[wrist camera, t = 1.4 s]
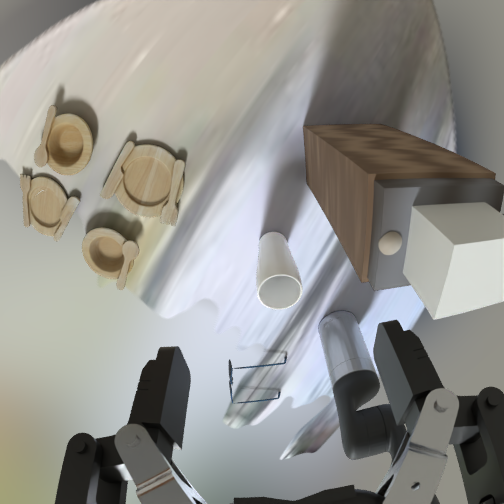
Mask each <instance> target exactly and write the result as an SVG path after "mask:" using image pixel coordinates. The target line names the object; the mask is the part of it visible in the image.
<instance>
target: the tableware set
mask: <svg viewBox="0 0 504 504" xmlns="http://www.w3.org/2000/svg"><path fill="white" fill-rule="evenodd" d="M56 112H57V107H56V106H55V105H51V106H50V107H49V110H48V113H47V118H46V122H45V127H44V131H43V137H42V142H41V144H40V146H39V147H38V148H37V149H36V151H35V154H34V160H35V163H36V165H37V166H38V167H43V166H45V165H46V163H48V165H49V166H50V167H51V168H52V169H53V170H54V171H56V172H57V173H59V174H62V175H73V174H76V173H78V172H80V171H81V170H82V169H84V167H85V166H86V165H87V164H88V162H89V160H90V158H91V155H92V151H93V137H92V133H91V130H90V128H89V126H88V124H87V123H86V122H85V121H84V120H83V119H82V118H81V117H79V116H77V115H75V114H70V113H66V114H61V115H58V116H56ZM55 116H56V117H55ZM184 168H185V161H184V160H182V159H178V160H176V158H175V157H174V156H173V155H172V154H171V153H170V152H169V151H167V150H166V149H164V148H162V147H160V146H156V145H152V144H143V145H138V146H135V143H134V142H133V141H128V142H127V143H126V145H125V146H124V148H123V150H122V152H121V154H120V155H119V157H118V159H117V161H116V163H115V165H114V167H113V169H112V171H111V173H110V175H109V177H108V179H107V181H106V183H105V185H104V187H103V189H102V191H101V194H100V196H101V197H102V198H105V199H108V198H110V197H112V196H113V194H114V193H115V195H116V197H117V198H118V200H119V201H120V203H121V204H122V205H123V206H124V207H125V208H126V209H127V210H128V211H130V212H132V213H134V214H136V215H138V216H142V217H157V216H161V218H160V223H163V224H164V222H165V221H166V224H167V225H169V223H171V226H176V221H177V216H178V209H177V206H176V204H177V203H178V201H179V199H180V197H181V195H182V191H183V186H184V179H183V172H184ZM20 186H21V189H22V191H23V218H24V226H25V227H29V226H30V224H31V225H32V226H33V227H34V229H36V230H37V231H38V232H40V233H41V234H44V235H47V236H54V240H55V241H59V239H60V238H61V235H62V234H63V232H64V230H65V228H66V227H67V225H68V223H69V220H70V218H71V217H72V215H73V213H74V211H75V209H76V208H77V206H78V204H79V202H80V199H79V198H78V197H76V196H72V197H70V198H69V199H68V198H67V196H66V194H65V192H64V190H63V189H62V187H61V186H60V185H59V184H58V183H57V182H56V181H54V180H53V179H51V178H49V177H44V176H40V177H36V178H34V179H32V180H31V177H30V176H29V175H23V174H20ZM41 190H44V191H42V192H41V193H39V192H40V191H41ZM38 193H39V194H38ZM36 194H38V195H36ZM35 195H36V196H35ZM82 252H83V256H84V258H85V261H86V262H87V264H88V265H89V267H90V268H91V269H92V270H93V271H94V272H95V273H97V274H98V275H100V276H102V277H105V278H109V279H118V281H117V288H118V289H119V290H123V289H124V287H125V283H126V278H127V274H128V273H129V272H130V271H131V269H132V267H133V263H134V259H135V258H136V257H137V256H138V254H139V246H138V244H137V243H136V242H134V241H132V240H128V241H127V240H126V239H125V238H124V237H123V236H122V235H121V234H120V233H118V232H117V231H115V230H113V229H110V228H104V227H100V228H95V229H93V230H91V231H89V232H88V233H87V234H86V236H85V237H84V240H83V243H82Z"/></svg>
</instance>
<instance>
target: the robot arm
mask: <svg viewBox="0 0 504 504" xmlns="http://www.w3.org/2000/svg"><path fill="white" fill-rule="evenodd" d="M318 329H319V334H320V338H321V343H322V347H323V351H324V355H325V359H326V363H327V367H328V372H329V376H330V380H331V384H332V389H333V393H334V397H335V402H336V406H337V411H338V416H339V423H340V430H341V437H342V443H343V448H344V452H345V454H346V456H347V457H348V458H349V459H351V460H356V459H361V458H365V457H369V456H373V455H377V454H380V453H383V452H389V453H390V454H391V456H392V463H391V467H390V469H389V470H388V472H387V474H386V475H385V477H384V479H383V481H382V482H381V484H380V486H379V488H378V489H377V491H376V493H374V492H371V491H367V490H359V489H354V485H349V486H344V487H340V488H334V489H328V490H324V491H321V492H319V493H316V494H314V495H311V496H308V497H305V498H303V499H300V500H296V501H289V500H281V499H274V498H267V497H251V498H234V503H231V504H440V503H439V501H438V499H437V497H436V495H435V492H436V490H437V487H438V485H439V482H440V480H441V477H442V474H443V472H444V469H445V466H446V463H447V455H446V450H447V447H448V444H453V445H454V448H455V452H456V456H457V459H458V463H459V467H460V470H461V474H462V478H463V482H464V487H465V491H466V495H467V500H468V504H504V394H503V392H502V391H501V390H499V389H498V388H495V387H487V388H484V389H483V390H482V391H481V392H480V393H479V395H478V396H456V395H455V394H454V393H453V392H452V391H450V390H448V389H445V388H444V387H443V385H442V383H441V381H440V379H439V377H438V374H437V372H436V370H435V368H434V366H433V364H432V362H431V360H430V358H429V357H428V355H427V353H426V351H425V349H424V347H423V345H422V343H421V341H420V339H419V337H417V336H416V335H415V334H414V333H413V332H412V331H411V330H407V331H403V329H402V327H401V325H400V323H399V321H398V320H393V321H388V322H383V323H379V325H378V329H377V334H376V339H375V344H374V349H373V353H374V360H375V363H376V366H377V369H378V371H379V374H380V377H381V379H382V382H383V385H384V388H385V391H386V394H387V397H388V400H389V403H390V404H383V405H379V406H375V407H371V408H367V409H363V410H359V411H356V410H357V409H358V408H359V407H361V406H362V405H363V404H365V403H367V402H368V401H370V400H371V399H372V398H373V397H374V396H375V395H376V394H377V393H378V391H379V388H380V383H379V379H378V377H377V374H376V371H375V368H374V365H373V363H372V360H371V357H370V355H369V352H368V349H367V347H366V344H365V341H364V339H363V336H362V333H361V331H360V328H359V325H358V323H357V320H356V318H355V316H354V315H353V314H352V313H350V312H347V311H337V312H333V313H331V314H329V315H327V316H326V317H325V318H324V319H322V321H321V322H320V324H319V328H318ZM190 379H191V378H190V371H189V368H188V366H187V364H186V361H185V359H184V357H183V355H182V352H181V350H180V348H179V347H178V346H177V347H160V348H159V351H158V354H157V358H156V360H149V361H148V363H147V364H146V365H145V367H144V368H143V370H142V373H141V376H140V382H139V383H138V388H137V391H136V394H135V398H134V402H133V406H132V410H131V414H130V418H129V421H128V423H127V425H125V426H123V427H122V428H121V429H120V430H119V431H118V432H117V433H116V435H113V436H109V437H103V438H97V439H94V438H93V437H92V436H91V435H89V434H87V433H79V434H76V435H74V436H73V437H72V438H71V439H70V441H69V442H68V445H67V449H66V453H65V457H64V461H63V465H62V470H61V475H60V480H59V484H58V489H57V495H56V500H55V504H125V502H126V493H127V484H128V480H132V479H133V481H134V483H135V485H136V487H137V490H136V494H137V496H138V498H139V500H140V502H141V504H207V502H206V501H205V500H204V499H203V498H202V497H201V496H200V495H199V494H198V493H197V491H196V490H195V489H194V488H193V486H192V485H191V484H190V482H189V481H188V480H187V479H186V477H185V476H184V474H183V473H182V472H181V470H180V469H179V467H178V466H177V464H176V463H175V462H174V460H173V459H172V451H173V449H177V450H181V449H182V441H183V434H184V426H185V418H186V411H187V404H188V397H189V390H190V382H191V380H190ZM404 424H406V427H407V431H406V428H405V426H404Z"/></svg>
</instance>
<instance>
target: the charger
mask: <svg viewBox="0 0 504 504" xmlns="http://www.w3.org/2000/svg"><path fill="white" fill-rule="evenodd" d="M403 274H404V275H405V277H406V278H407V280H408V281H409V283H410V284H411V286H412V287H413V289H414V290H415V292H416V293H417V295H418V296H419V298H420V299H421V301H422V302H423V304H424V305H425V307H426V308H427V310H428V311H429V313H430V315H431V316H432V318H433V319H434V320H435V319H439V318H444V317H448V316H451V315H456V314H460V313H464V312H467V311H471V310H475V309H478V308H482V307H485V306H489V305H492V304H496V303H499V302H502V301H504V214H501V213H500V212H498V211H497V210H496V209H494V208H493V207H491V206H490V205H488V204H487V203H486V202H476V203H455V204H437V205H421V206H412V212H411V221H410V229H409V236H408V243H407V250H406V256H405V262H404V268H403Z"/></svg>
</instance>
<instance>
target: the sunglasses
mask: <svg viewBox="0 0 504 504" xmlns="http://www.w3.org/2000/svg"><path fill="white" fill-rule="evenodd" d="M286 359H287V357H285V360H284V363H277V364H269V365H260V366H250V367H240V369H241V368H254V367H264V366H273V365H281V364H285V363H286ZM235 369H239V368H235ZM229 377H230V382H231V383H230V382H229V385H230V394H231V400H232V388H231V384H233V382H232V380H233V377H232V365H231V361H230V360H229ZM280 393H281V392H278V398H273V399H265V400H257V401H247V402H239V403H249V402H258V401H267V400H274V399H279V397H280ZM232 403H233V400H232Z"/></svg>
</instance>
